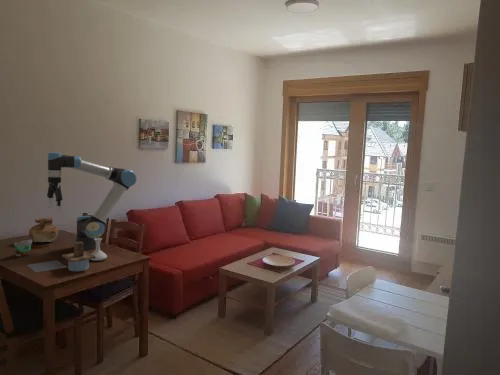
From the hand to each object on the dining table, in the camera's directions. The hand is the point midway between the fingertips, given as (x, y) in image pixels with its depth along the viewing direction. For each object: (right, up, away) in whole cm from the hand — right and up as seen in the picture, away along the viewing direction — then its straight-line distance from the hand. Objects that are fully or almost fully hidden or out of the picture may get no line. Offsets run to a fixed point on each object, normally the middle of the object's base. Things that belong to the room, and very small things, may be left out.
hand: (54, 209), depth 242 cm
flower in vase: (+26, -33, +3) cm, 42 cm away
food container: (-21, -31, +4) cm, 37 cm away
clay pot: (-28, -27, +38) cm, 54 cm away
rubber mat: (+3, -34, -16) cm, 37 cm away
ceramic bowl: (+23, -35, -17) cm, 45 cm away
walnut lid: (+24, -28, -17) cm, 40 cm away
